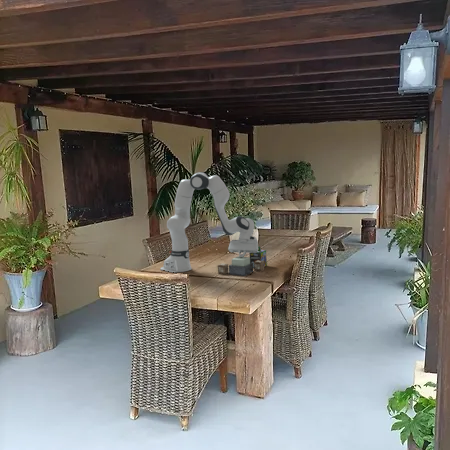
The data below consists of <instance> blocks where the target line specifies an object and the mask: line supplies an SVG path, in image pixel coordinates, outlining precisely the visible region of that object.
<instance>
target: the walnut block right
mask: <svg viewBox="0 0 450 450" xmlns="http://www.w3.org/2000/svg"><path fill="white" fill-rule="evenodd" d="M262 270H263V271H264V270H265V267H264V261H256V262H254V268H253V272H263V271H262Z"/></svg>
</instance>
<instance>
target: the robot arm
mask: <svg viewBox="0 0 450 450" xmlns="http://www.w3.org/2000/svg"><path fill="white" fill-rule="evenodd" d="M205 189H208V190H209V192H210V194H211V195H212V198H213V201H214V203H213V205H214V209H215V212H216V214H217V216H218V220H219V221H220V224H221V227H222V230H223V233H225V235H227V236H233V235H234V234H236V233H239V236H238V239H232V240H230V241H229V245H228V248H227V250H228V252H229V253H238V256H239V258H244V257H246V255H247V253H249V254H250V253H257V252H258V249H259V248H258V246H259V242H258V238H257V237H256V236H253V234H254V231H255V222H254V220H253V219H252V218H249V217H248V218H245V217H243V216H241V215H238V216H236V217H233V218H232V219H229V218H228V215H227V213H226V210H225V205H226V204H227V202H228V201H229V199H230V195H231V194H230V191H229V189H228V187H227V186H226V184H225V182H224V181H223V180H222V178H221V177H220V176H219V175H216V174H214V175H211V176H209V175H208V174H207V173H205V172H203V171H198V172H196V173H194V174H193V175H192V176H191V177H190V179H182V180H180V182H179V184H178V187H177V189H176V194H175V199H174V203H173V205H174V215H172V216H171V217H169V219H167V221H166V228H167V230H169V234H170V238H171V245H172V246H171V248H172V249H171V250H170V251H169V252H168V253H170V255H169V256H168V257H167V258H166V259H164V261H163V266H161V267H160V269H159V270H160V271H163V270H165V272H168V271H169V273H173V272H174V273H183V272H188V271H191V270H192V266H191V261H190V249H189V239H188V237H187V234H186V228H187V227H189V225H190V224H191V218H190V217H191V205H192V200H193V194H194V191H195V190H198V191H199V190H205ZM174 273H173V274H174Z"/></svg>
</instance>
